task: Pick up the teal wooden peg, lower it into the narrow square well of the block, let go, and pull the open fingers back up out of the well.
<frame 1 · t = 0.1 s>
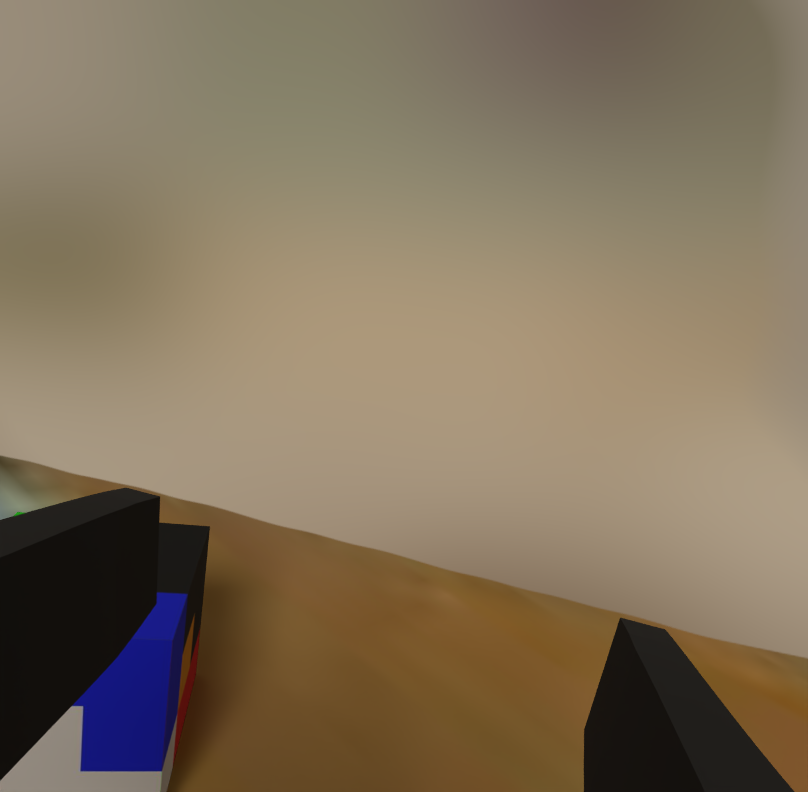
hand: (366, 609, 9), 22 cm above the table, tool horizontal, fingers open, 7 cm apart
puzzle toy: (77, 743, 31), on the table
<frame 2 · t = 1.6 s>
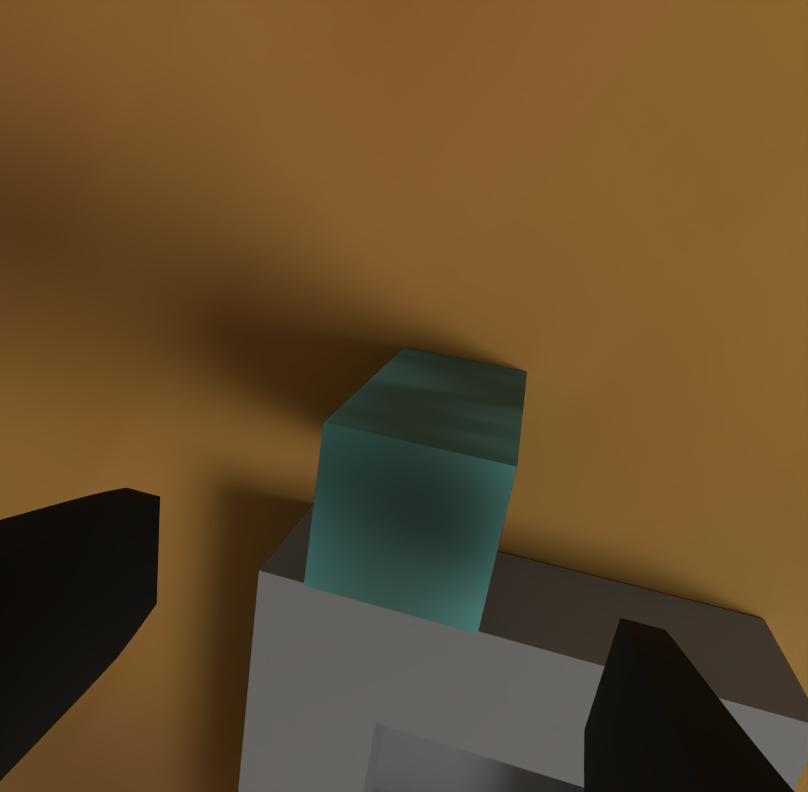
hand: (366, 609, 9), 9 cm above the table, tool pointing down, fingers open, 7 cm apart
well block: (481, 731, 21), on the table
teal peg: (453, 417, 18), on the table
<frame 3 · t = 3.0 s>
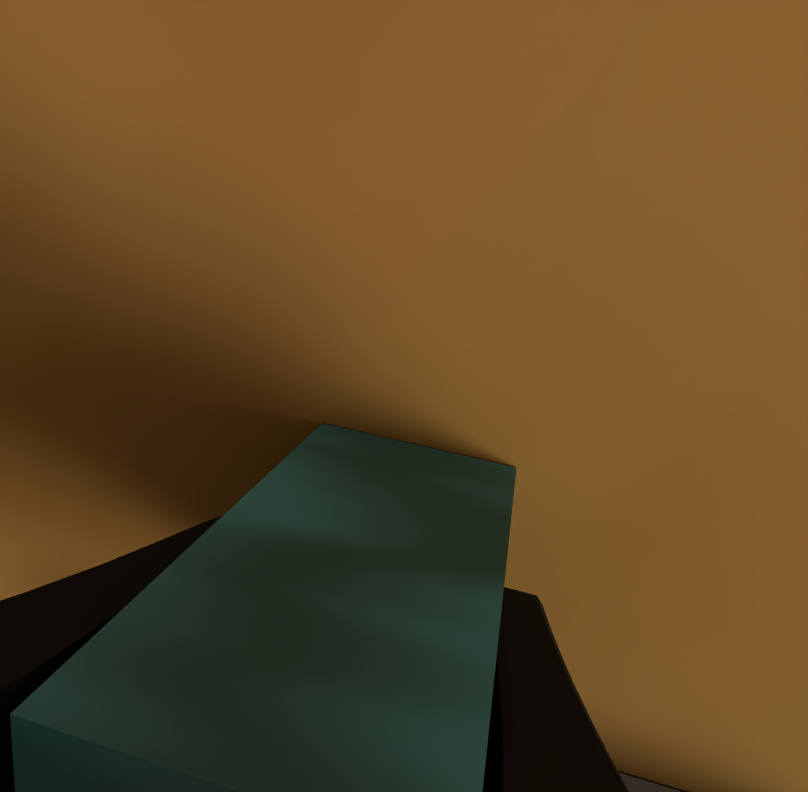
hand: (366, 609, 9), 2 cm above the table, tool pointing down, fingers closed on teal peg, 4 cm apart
teal peg: (401, 531, 11), on the table, touching gripper
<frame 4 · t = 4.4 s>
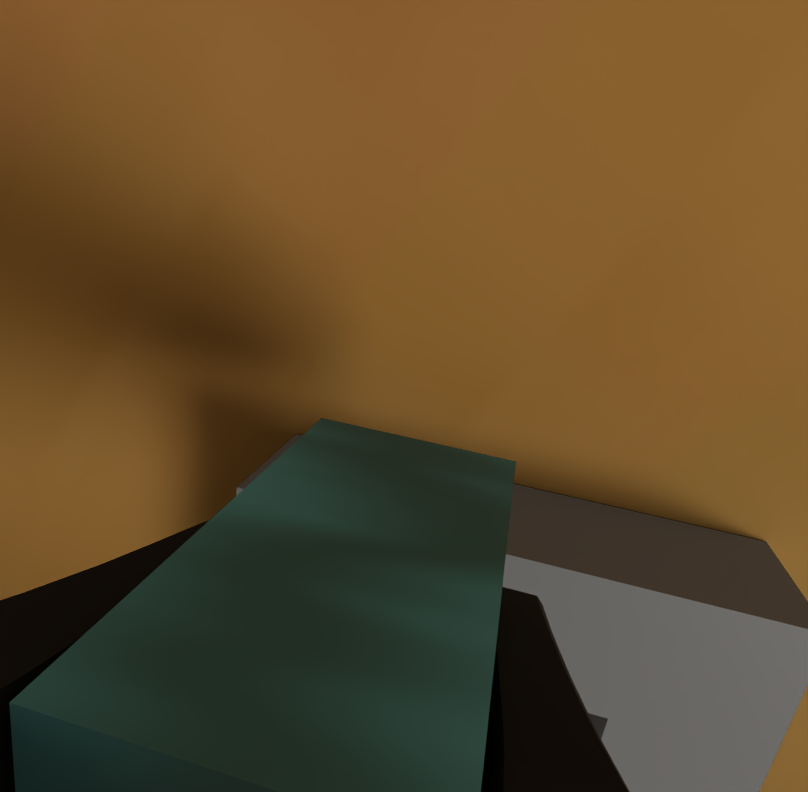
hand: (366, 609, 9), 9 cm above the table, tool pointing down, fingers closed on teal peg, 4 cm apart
well block: (473, 671, 20), on the table
teal peg: (401, 526, 11), point 7 cm above the table, touching gripper
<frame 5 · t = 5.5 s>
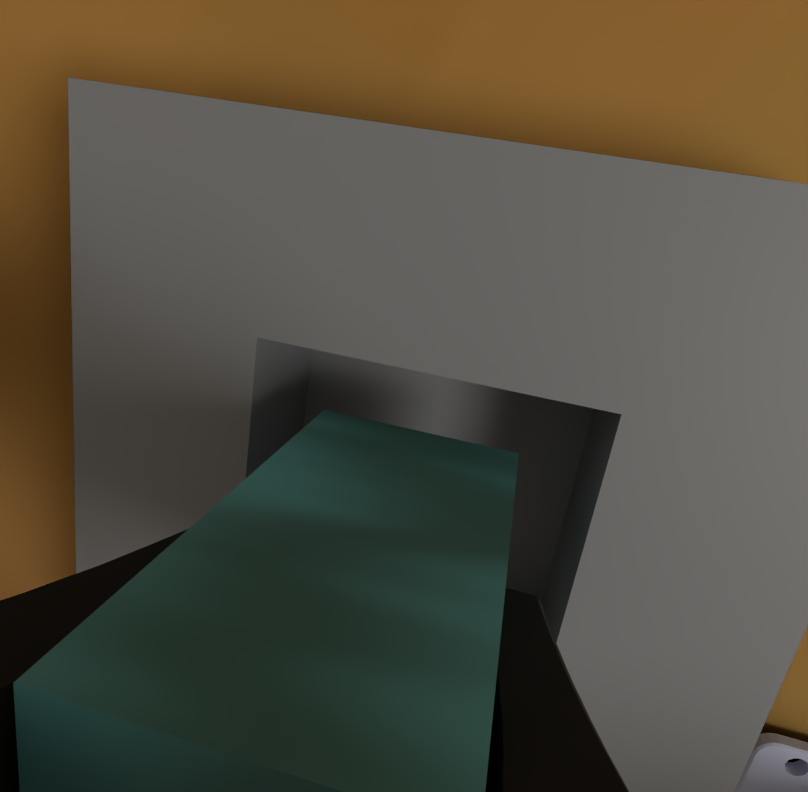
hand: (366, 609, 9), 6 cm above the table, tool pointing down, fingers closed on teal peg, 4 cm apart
well block: (436, 457, 15), on the table
teal peg: (403, 518, 11), point 4 cm above the table, touching gripper
when the fingers open (5 cm above the table, at t = 6.1 s): teal peg drops 1 cm, resting on well block.
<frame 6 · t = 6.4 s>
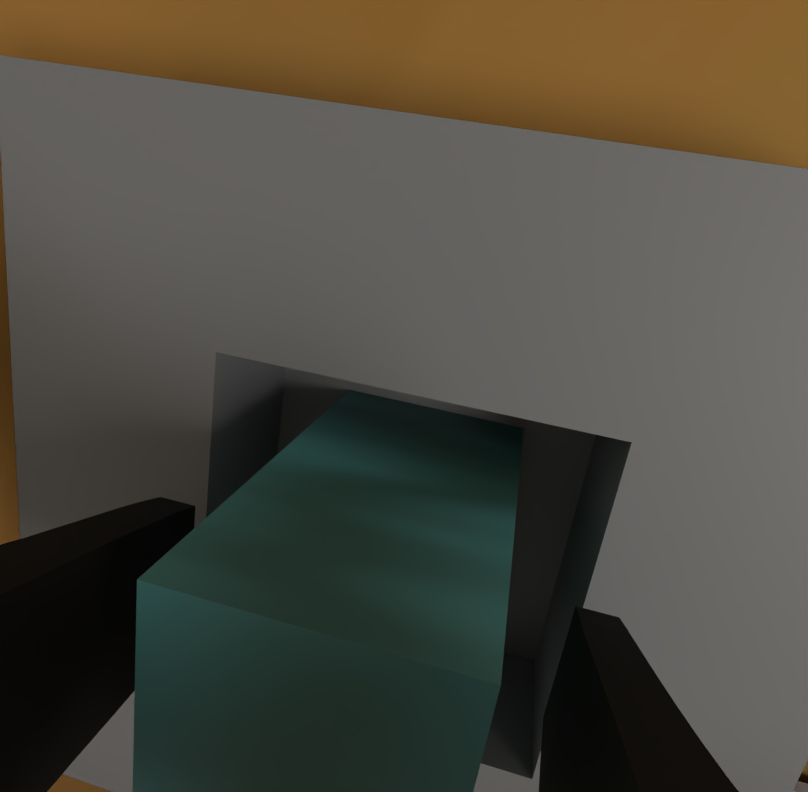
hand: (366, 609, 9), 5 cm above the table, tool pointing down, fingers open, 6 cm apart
well block: (425, 478, 14), on the table
teal peg: (420, 487, 13), point 1 cm above the table, touching well block
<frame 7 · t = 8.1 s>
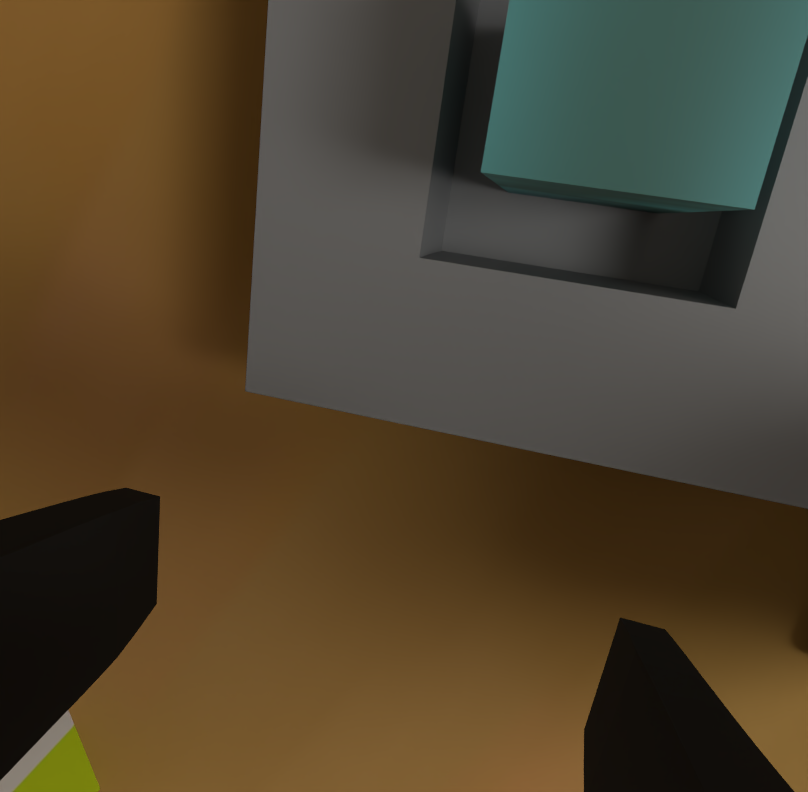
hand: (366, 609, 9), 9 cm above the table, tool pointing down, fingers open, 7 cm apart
well block: (592, 138, 15), on the table
teal peg: (599, 122, 14), point 1 cm above the table, touching well block
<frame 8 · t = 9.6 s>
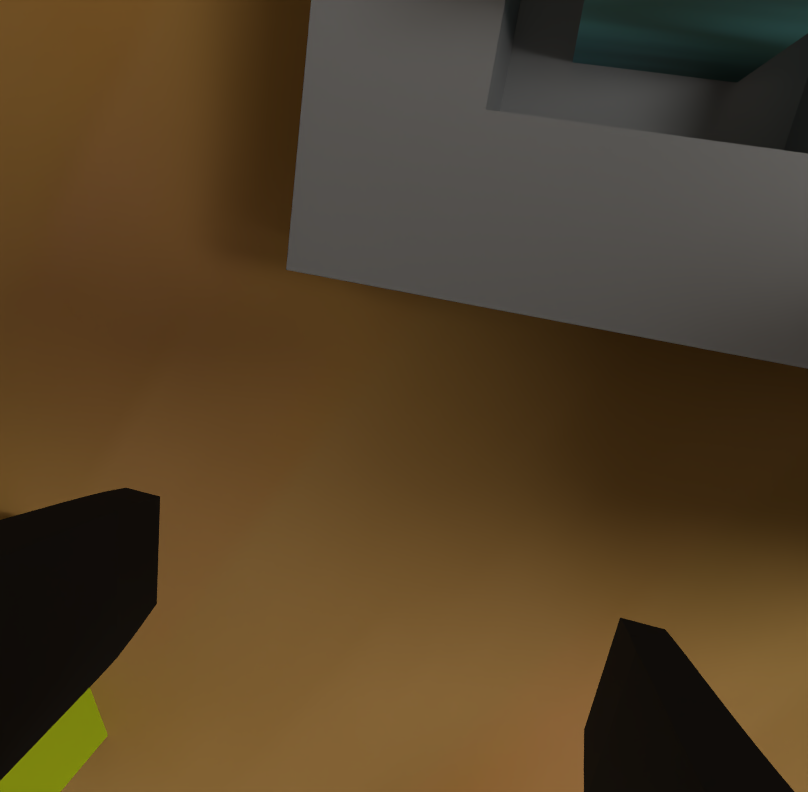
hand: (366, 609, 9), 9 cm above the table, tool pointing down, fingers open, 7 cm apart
well block: (663, 7, 14), on the table
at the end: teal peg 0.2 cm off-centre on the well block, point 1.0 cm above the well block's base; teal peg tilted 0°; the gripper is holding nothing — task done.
